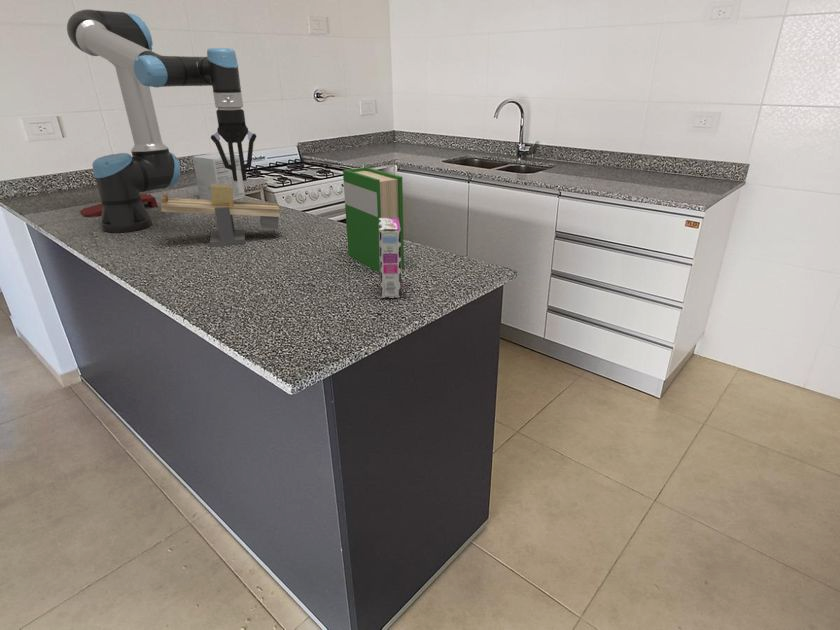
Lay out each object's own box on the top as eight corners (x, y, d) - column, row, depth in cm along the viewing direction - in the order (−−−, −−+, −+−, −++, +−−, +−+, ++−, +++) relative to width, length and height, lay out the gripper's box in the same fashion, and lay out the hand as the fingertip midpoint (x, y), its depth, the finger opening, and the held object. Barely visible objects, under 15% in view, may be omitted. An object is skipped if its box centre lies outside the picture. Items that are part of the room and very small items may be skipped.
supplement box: (246, 197, 218) (240, 154, 211) (220, 203, 208) (212, 158, 201) (225, 194, 225) (218, 152, 217) (199, 200, 215) (191, 156, 207)
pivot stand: (212, 236, 166) (206, 200, 161) (244, 233, 169) (239, 198, 164) (210, 247, 156) (203, 209, 151) (245, 243, 158) (239, 206, 154)
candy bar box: (402, 298, 119) (401, 229, 112) (380, 299, 119) (378, 230, 112) (400, 281, 129) (398, 216, 123) (380, 282, 129) (377, 217, 122)
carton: (90, 228, 190) (159, 208, 202) (84, 215, 188) (154, 195, 200) (84, 221, 199) (152, 202, 211) (79, 209, 196) (147, 190, 208)
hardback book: (403, 268, 138) (402, 176, 128) (379, 274, 134) (376, 180, 124) (371, 251, 151) (367, 167, 141) (348, 256, 147) (342, 170, 137)
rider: (212, 203, 159) (211, 183, 157) (233, 204, 161) (232, 184, 159) (211, 206, 155) (210, 186, 152) (233, 207, 157) (232, 187, 154)
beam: (166, 217, 159) (164, 192, 156) (277, 222, 169) (278, 198, 167) (162, 225, 150) (160, 199, 148) (279, 229, 161) (280, 205, 158)
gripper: (204, 110, 143) (218, 195, 153) (253, 109, 147) (264, 193, 157) (206, 108, 149) (219, 190, 159) (253, 107, 153) (263, 188, 163)
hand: (241, 191), depth 158 cm, fingers closed
